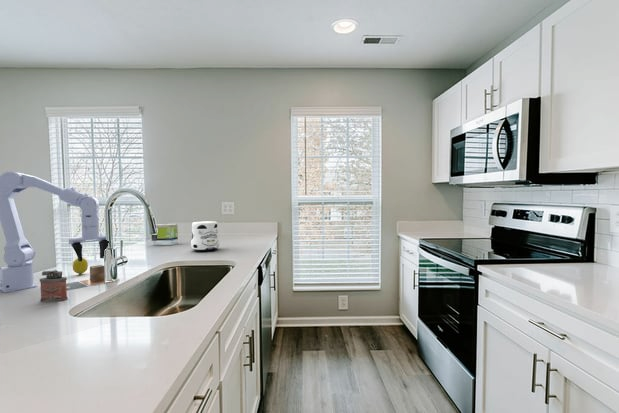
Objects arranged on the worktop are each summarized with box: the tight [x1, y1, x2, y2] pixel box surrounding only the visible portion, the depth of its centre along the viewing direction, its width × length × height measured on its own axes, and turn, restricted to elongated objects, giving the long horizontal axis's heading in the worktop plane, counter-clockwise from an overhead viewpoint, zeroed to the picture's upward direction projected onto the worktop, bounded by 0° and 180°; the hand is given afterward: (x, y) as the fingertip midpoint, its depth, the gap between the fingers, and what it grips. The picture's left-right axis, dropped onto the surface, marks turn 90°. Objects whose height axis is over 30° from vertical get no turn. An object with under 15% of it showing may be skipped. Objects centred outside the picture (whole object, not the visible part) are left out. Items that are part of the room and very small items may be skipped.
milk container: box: [190, 220, 220, 252], centre depth 206 cm, size 17×17×18 cm
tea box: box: [151, 223, 179, 246], centre depth 235 cm, size 15×10×15 cm, turn 84°
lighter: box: [39, 269, 69, 303], centre depth 107 cm, size 8×3×10 cm, turn 92°
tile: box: [79, 278, 116, 287], centre depth 131 cm, size 9×11×1 cm
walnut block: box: [89, 264, 106, 283], centre depth 131 cm, size 4×4×6 cm
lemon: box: [72, 257, 89, 275], centre depth 143 cm, size 6×6×8 cm
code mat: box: [39, 281, 89, 291], centre depth 123 cm, size 12×12×1 cm
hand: (91, 259), depth 131 cm, fingers open, 7 cm apart
